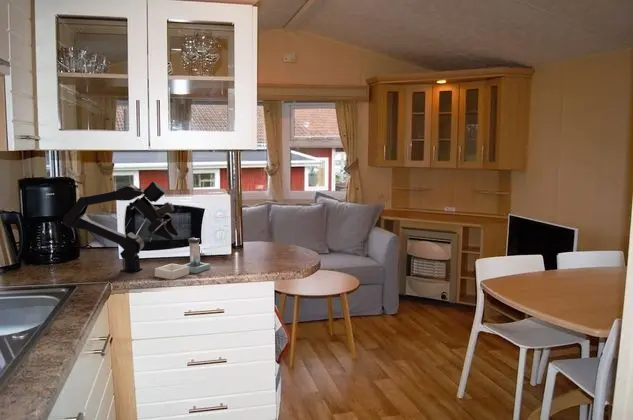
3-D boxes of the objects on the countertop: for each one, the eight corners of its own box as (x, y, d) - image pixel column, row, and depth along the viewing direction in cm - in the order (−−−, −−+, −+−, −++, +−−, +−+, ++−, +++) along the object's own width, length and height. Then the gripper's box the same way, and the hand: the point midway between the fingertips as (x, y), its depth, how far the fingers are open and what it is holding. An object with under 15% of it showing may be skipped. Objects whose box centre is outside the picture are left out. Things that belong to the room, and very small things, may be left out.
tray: (154, 276, 203) (154, 268, 203) (172, 270, 211) (172, 263, 211) (172, 279, 198) (171, 271, 198) (189, 273, 207) (189, 266, 206)
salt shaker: (186, 270, 212) (185, 239, 211) (195, 267, 217) (193, 237, 215) (195, 271, 210) (194, 240, 208) (203, 269, 214) (202, 238, 212)
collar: (180, 270, 212) (180, 265, 211) (194, 266, 219) (194, 261, 219) (195, 273, 208) (195, 268, 207) (210, 268, 215) (210, 263, 215)
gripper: (155, 199, 199) (184, 228, 201) (167, 194, 218) (193, 220, 220) (135, 218, 200) (164, 247, 202) (148, 211, 219) (174, 238, 221)
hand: (175, 237), depth 211 cm, fingers open, 9 cm apart
